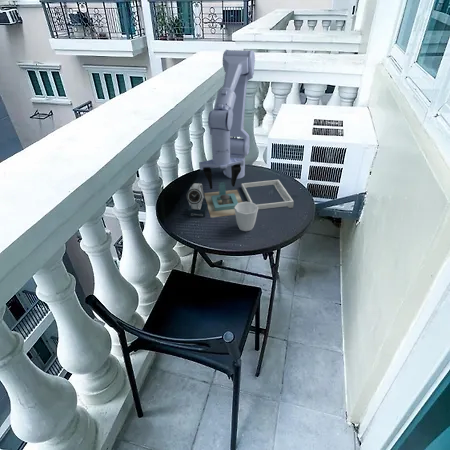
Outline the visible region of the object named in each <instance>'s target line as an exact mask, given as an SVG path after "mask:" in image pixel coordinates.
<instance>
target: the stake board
mask: <svg viewBox="0 0 450 450" xmlns="http://www.w3.org/2000/svg"><path fill="white" fill-rule="evenodd" d="M233 193H234V194H235V196H236V199H237V201H238V203H241V202H243V199H242V198H241V195H240V193H239V191H238V189H230V190H226V194H233ZM214 195H219V191H212V192H203V196H204V199H205V202H206V204H208V213H209V217H210V218H218V217H219V218H221V217H229V216H236V215H235V209H228V210H220V211H215V209H214V205H213V202H212V199H211V196H214ZM220 198H221V199H222V200H217V201H218V204H219V205H223V204H232V201H231V199H229V195H221V196H220Z"/></svg>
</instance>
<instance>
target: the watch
mask: <svg viewBox="0 0 450 450" xmlns="http://www.w3.org/2000/svg"><path fill="white" fill-rule="evenodd" d="M203 188H204V187H203V184H202V183H193V184H192V185H191V186H190V188H189V190H188V191H187V193H186V200H187V201H188V204H189V207H188V209H187V216H190V217H199V218H200V217H201V218H206V215H207V213H208V212H209V210H208V204H207V203H203V201H204V199H205V195H204V190H203Z"/></svg>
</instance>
